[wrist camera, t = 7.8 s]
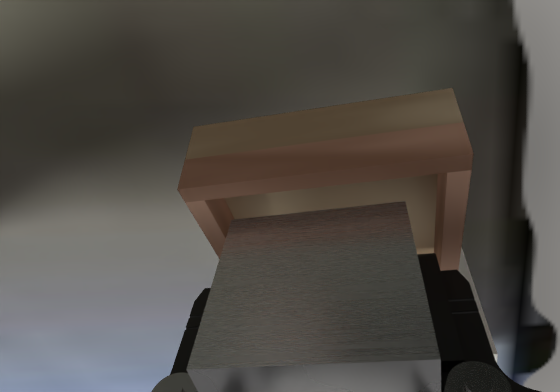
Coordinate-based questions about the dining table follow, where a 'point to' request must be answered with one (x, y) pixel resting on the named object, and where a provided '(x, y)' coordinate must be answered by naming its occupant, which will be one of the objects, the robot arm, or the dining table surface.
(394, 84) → the dining table surface
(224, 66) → the dining table surface
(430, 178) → the beam
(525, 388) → the robot arm
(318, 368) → the block
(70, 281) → the dining table surface
